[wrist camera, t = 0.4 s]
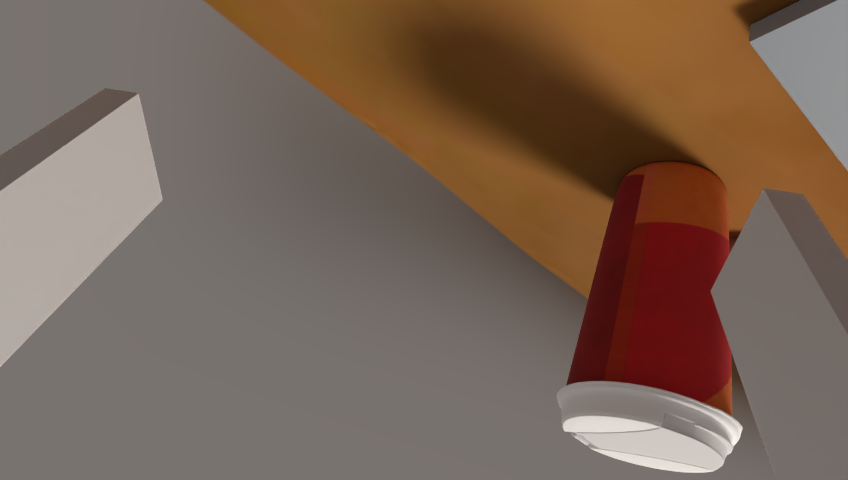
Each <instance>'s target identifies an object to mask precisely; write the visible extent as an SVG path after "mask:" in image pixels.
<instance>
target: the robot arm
mask: <svg viewBox="0 0 848 480" xmlns="http://www.w3.org/2000/svg"><path fill="white" fill-rule="evenodd" d="M162 200H163V199H162V195H161V190H160V186H159V181H158V177H157V173H156V168H155V164H154V159H153V155H152V150H151V146H150V142H149V137H148V133H147V128H146V124H145V119H144V115H143V111H142V106H141V102H140V97H139V94H138V93H132V92H126V91H120V90H113V89H106V88H105V89H104V90H102V91H100V92H99V93H97V94H96V95H94V96H93V97H91V98H89V99H88V100H86V101H85V102H83V103H82V104H80V105H79V106H77V107H76V108H74V109H72V110H71V111H69V112H68V113H66V114H64V115H63V116H61V117H60V118H58V119H57V120H55V121H54V122H52V123H50V124H49V125H47V126H46V127H44V128H43V129H41V130H40V131H38V132H37V133H35V134H33V135H32V136H30V137H29V138H27V139H26V140H24V141H22V142H21V143H19V144H18V145H16V146H15V147H13V148H12V149H10V150H8V151H7V152H5V153H4V154H2V155H1V156H0V366H2V364H3V363H4V362H5V361H6V360H7V359H8V358H9V357H10V356H11V355H12V354H13V353H14V352H15V351H16V350H17V349H18V348H19V347H20V346H21V345H22V344H23V343H24V342H25V341H26V340H27V339H28V338H29V337H30V335H32V334H33V333H34V332H35V330H36V329H37V328H38V327H39V326H40V325H41V324H42V323H43V322H44V321H45V320H46V319H47V318H48V317H49V316H50V315H51V314H52V313H53V312H54V311H55V310H56V309H57V308H58V307H59V306H60V305H61V304H62V303H63V302H64V301H65V300H66V299H67V298H68V297H69V295H70V294H71V293H72V292H73V291H74V290H75V289H76V288H77V287H78V286H79V285H80V284H81V283H82V282H83V281H84V280H85V279H86V278H87V277H88V276H89V275H90V274H91V273H92V272H93V271H94V270H95V269H96V268H97V267H98V266H99V265H100V264H101V263H102V261H103V260H104V259H105V258H106V257H107V256H108V255H109V254H110V253H111V252H112V251H113V250H114V249H115V248H116V247H117V246H118V245H119V244H120V243H121V242H122V241H123V240H124V239H125V238H126V237H127V236H128V235H129V234H130V233H131V232H132V231H133V229H135V228H136V226H137V225H138V224H139V223H140V222H141V221H142V220H143V219H144V218H145V217H146V216H147V215H148V214H149V213H150V212H151V211H152V210H153V209H154V208H155V207H156V206H157V205H158V204H159V203H160V202H161V201H162ZM711 294H712V297H713V300H714V303H715V306H716V308H717V311H718V314H719V317H720V320H721V323H722V326H723V329H724V332H725V335H726V337H727V340H728V343H729V346H730V349H731V352H732V355H733V358H734V360H735V364H736V366H737V369H738V372H739V375H740V378H741V381H742V384H743V386H744V390H745V392H746V395H747V398H748V401H749V404H750V407H751V410H752V413H753V416H754V418H755V421H756V424H757V427H758V430H759V433H760V436H761V439H762V442H763V445H764V448H765V450H766V453H767V456H768V459H769V462H770V465H771V468H772V471H773V473H774V476H775V479H776V480H848V260H847V259H846V257H845V256H844V254H843V253H842V251H841V250H840V248H839V247H838V245H837V244H836V242H835V241H834V240H833V238H832V237H831V235H830V234H829V232H828V231H827V229H826V228H825V226H824V225H823V223H822V222H821V220H820V219H819V217H818V216H817V214H816V213H815V211H814V210H813V208H812V207H811V205H810V204H809V202H808V201H807V199H806V198H805V196H804V195H803V194H797V193H791V192H784V191H777V190H771V189H764V188H763V190H762V192H761V194H760V196H759V198H758V200H757V202H756V203H755V205H754V207H753V209H752V211H751V213H750V215H749V217H748V219H747V221H746V223H745V225H744V227H743V229H742V231H741V233H740V235H739V237H738V239H737V240H736V242H735V244H734V246H733V248H732V250H731V252H730V254H729V256H728V258H727V260H726V262H725V264H724V266H723V268H722V270H721V272H720V274H719V276H718V277H717V279H716V281H715V283H714V285H713V287H712V289H711Z"/></svg>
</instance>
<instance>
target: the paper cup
mask: <svg viewBox="0 0 848 480" xmlns="http://www.w3.org/2000/svg"><path fill="white" fill-rule="evenodd" d="M728 256H729V219H728V201H727V192H726V188H725V186H724V184H723V182H722V181H721V180H720V179H719V177H717V176H716V175H715V174H714V173H712V172H711V171H709V170H707V169H705V168H703V167H700V166H698V165H694V164H691V163H686V162H679V161H660V162H653V163H649V164H645V165H642V166H640V167H637V168H635V169H633V170H632V171H630V172H629V173H628V174H627V175H626V176H625V177H624V178H623V179H622V181H621V183H620V185H619V187H618V190H617V194H616V197H615V200H614V204H613V207H612V211H611V214H610V218H609V222H608V226H607V229H606V233H605V237H604V241H603V245H602V248H601V252H600V256H599V260H598V264H597V268H596V272H595V275H594V279H593V283H592V287H591V291H590V295H589V299H588V303H587V307H586V311H585V315H584V319H583V322H582V326H581V330H580V334H579V338H578V342H577V346H576V350H575V354H574V358H573V362H572V365H571V369H570V373H569V377H568V381H567V385H566V386H564V387H562V388H561V389H560V390H559V391H558V393H557V401H558V405H559V406H560V408H561V409H562V426H563V429H564V431H567V432H570V435H572V436H573V437H575V438H576V439H578V440H579V441H581V442H582V443H584V444H585V445H588V446H589V448H590V449H592V450H595V451H597V452H599V453H602V454H605V455H607V456H610V457H613V458H616V459H620V460H623V461H626V462H630V463H634V464H638V465H642V466H646V467H652V468H656V469H662V470H669V471H677V472H691V473H693V472H694V473H697V472H698V473H700V472H712V471H715V470H716V469H718V468H720V467H721V466H722V465H723V463H724V460H725V458H726V456H727V455H728V454H731V452H732V450H733V446H734V445H735V444H736V443H737V441H738V440H739V439H740V435H741V432H742V428H743V427H742V426H741V425H740V423H739V422H738V421H737V420H735V419H734V418H733V417H732V374H731V349H730V346H729V343H728V340H727V337H726V335H725V332H724V329H723V326H722V323H721V320H720V317H719V314H718V311H717V308H716V306H715V303H714V300H713V297H712V294H711V289H712V287H713V285H714V283H715V281H716V279H717V277H718V276H719V274H720V272H721V270H722V268H723V266H724V264H725V262H726V260H727V258H728Z"/></svg>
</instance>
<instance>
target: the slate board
mask: <svg viewBox="0 0 848 480" xmlns="http://www.w3.org/2000/svg"><path fill="white" fill-rule="evenodd" d="M749 43H750V44H751V45H752V46H753V48H754V49H755V50H756V52H757V53H758V54H759V56H760V57H761V58H762V60H763V61H764V62H765V63H766V65H767V66H768V67H769V69H770V70H771V71H772V73H773V74H774V75H775V77H776V78H777V79H778V80H779V82H780V83H781V84H782V86H783V87H784V88H785V90H786V91H787V92H788V94H789V95H790V96H791V97H792V99H793V100H794V101H795V103H796V104H797V105H798V107H799V108H800V109H801V111H802V112H803V113H804V115H805V116H806V117H807V118H808V120H809V121H810V122H811V124H812V125H813V126H814V128H815V129H816V130H817V132H818V133H819V134H820V135H821V137H822V138H823V139H824V141H825V142H826V143H827V145H828V146H829V147H830V149H831V150H832V151H833V152H834V154H835V155H836V156H837V158H838V159H839V160H840V162H841V163H842V164H843V166H844V167H845V168H846V169H847V171H848V0H800V1H798V2H796V3H794V4H792V5H790V6H787V7H785V8H783V9H781V10H779V11H777V12H775V13H773V14H771V15H769V16H767V17H765V18H763V19H761V20H759V21H757V22H755V23H753V24H751V25H750V36H749Z"/></svg>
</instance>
